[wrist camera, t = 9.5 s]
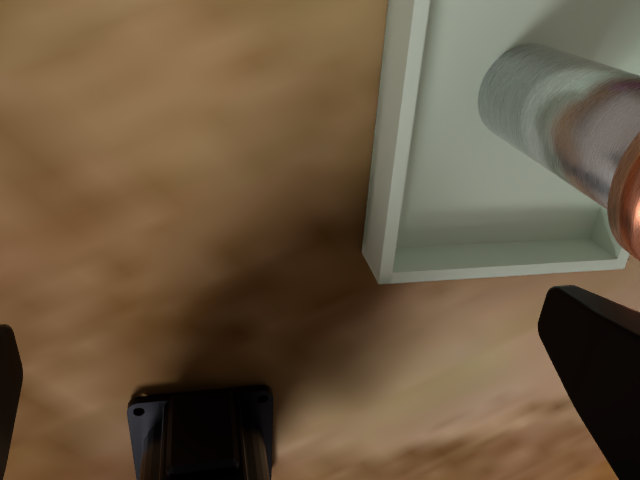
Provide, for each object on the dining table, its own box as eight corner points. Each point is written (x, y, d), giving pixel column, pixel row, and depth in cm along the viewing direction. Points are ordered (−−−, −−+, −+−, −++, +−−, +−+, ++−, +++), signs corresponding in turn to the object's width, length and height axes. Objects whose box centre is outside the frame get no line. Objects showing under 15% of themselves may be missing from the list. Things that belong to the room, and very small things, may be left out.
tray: (588, 240, 26) (624, 268, 24) (361, 252, 24) (378, 284, 22) (702, -112, 20) (766, -117, 17) (403, -141, 17) (433, -151, 15)
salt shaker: (562, 152, 23) (769, 275, 15) (453, 154, 22) (609, 286, 14) (596, 27, 21) (863, 90, 12) (475, 23, 20) (678, 89, 11)
